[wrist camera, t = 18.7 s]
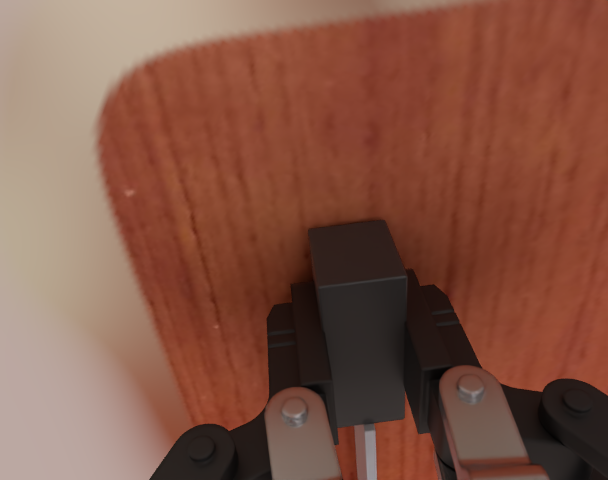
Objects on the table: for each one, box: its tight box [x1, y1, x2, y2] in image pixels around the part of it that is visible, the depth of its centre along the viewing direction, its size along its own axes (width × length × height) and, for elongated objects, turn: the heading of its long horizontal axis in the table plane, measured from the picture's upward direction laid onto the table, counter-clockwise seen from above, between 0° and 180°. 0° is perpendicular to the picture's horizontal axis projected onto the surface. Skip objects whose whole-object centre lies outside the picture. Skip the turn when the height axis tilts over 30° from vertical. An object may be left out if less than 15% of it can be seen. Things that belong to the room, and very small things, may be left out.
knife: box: [308, 220, 408, 480], centre depth 16 cm, size 14×2×3 cm, turn 5°
